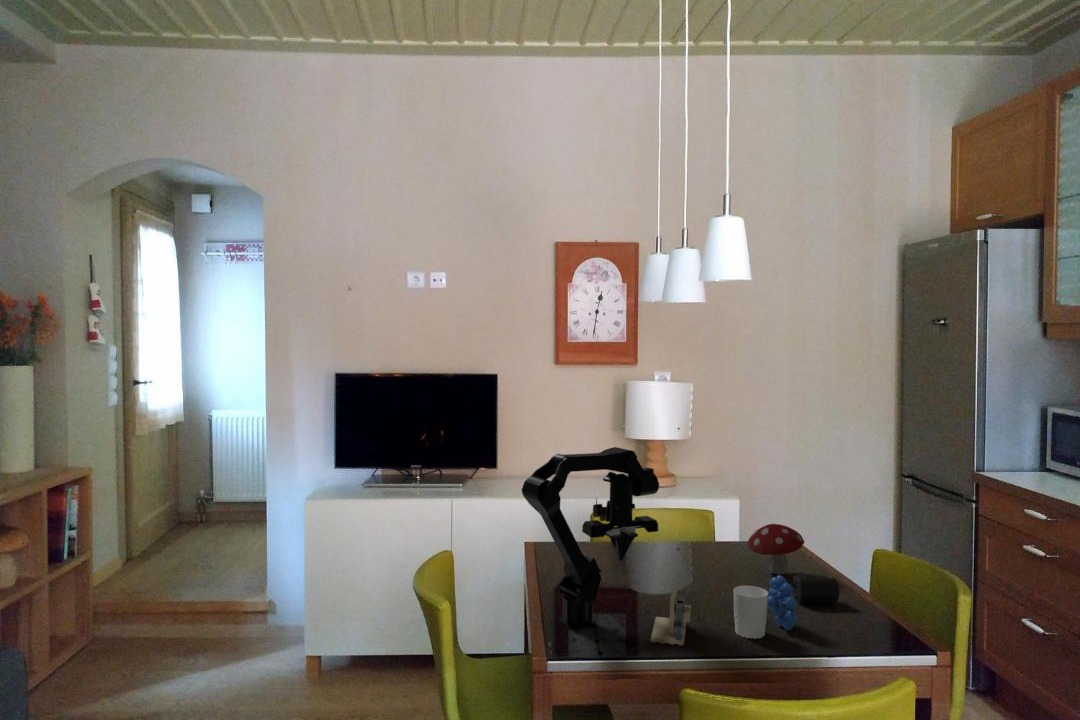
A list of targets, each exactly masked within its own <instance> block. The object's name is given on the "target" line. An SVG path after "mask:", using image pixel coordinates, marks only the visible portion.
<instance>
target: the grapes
mask: <svg viewBox="0 0 1080 720" xmlns="http://www.w3.org/2000/svg"><path fill="white" fill-rule="evenodd" d="M768 586H770V588H768V591H767V592H768V607H767V608H769V609H768V610H770V612H772V614H773V615H775V617H774V621H775V622H776V624H777V625H778V626H779V627H782V628H783V629H784V630H786V631H791V630H792V629H793V627H794V625H795V624H796V623H797V621H798V620H799V619H798V618H799V616H798V614H797V613H796V612H795V611H796V609H797V607H798V604H799V603H798V602H797V601H796V600H795V598H793V596H792V595H793V594H794V593H793V586H792V585H791V584H790V583H789V582H788V581H787V579H786V578H785V577H784V576H783V575H782V574H777V575H776V576H773V577H771V578H770V580H769V585H768Z"/></svg>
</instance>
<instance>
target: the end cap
mask: <svg viewBox="0 0 1080 720" xmlns="http://www.w3.org/2000/svg"><path fill="white" fill-rule="evenodd" d="M792 583H793V584H795V585H796V586H792V588H793V593H792V594H794V595H793V596H792V597H793V598H795V600H796V601H797V602H798V604H811V605H812V604H817V605H819V604H821V605H822V604H825V605H827V604H829V605H830V604H832V605H833V604H835V603H836V602H838V600H839V597H840V587H839V584H838V581H837V580H836V578H835V577H827V576H826V575H824V574H822V575H820V574H819V575H818V574H816V575H815V576H814V577H808V576H807V575H804V574H802V575H801V574H800V575H799V574H796V575H793V576H792Z"/></svg>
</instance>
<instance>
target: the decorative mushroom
mask: <svg viewBox="0 0 1080 720" xmlns="http://www.w3.org/2000/svg"><path fill="white" fill-rule="evenodd" d="M804 544H805V540H804V538H803V536H802V534H800V532H798V531H797V530H795V529H793V528H792V527H790V526H787V525H783V524H779V523H769V524H767V525H763V526H761V527H760V528H758V529H756V530H755V531H754V532H753V533H752V534H751V535H750V536H749V538H748V540H747V546H748V549H750V551H752V552H753V553H754V554H760V555H762V556H770V559H769V568H768V569H769V570H768V571H769V572H770V573H772V574H775V575H785V574H787V573H788V561H787V556H786V555H787V554H791V553H794V552H797V551H798V550H800V549H801V548H802V547H803V546H804Z"/></svg>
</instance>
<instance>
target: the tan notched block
mask: <svg viewBox="0 0 1080 720" xmlns="http://www.w3.org/2000/svg"><path fill="white" fill-rule="evenodd" d="M676 603H677V587H672V588H671V593H670V598H669V618H670V622H669V634H674V628H675V613H676ZM691 612H692V605H691V604H684V612H683V622H686V623H690V622H691Z"/></svg>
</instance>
